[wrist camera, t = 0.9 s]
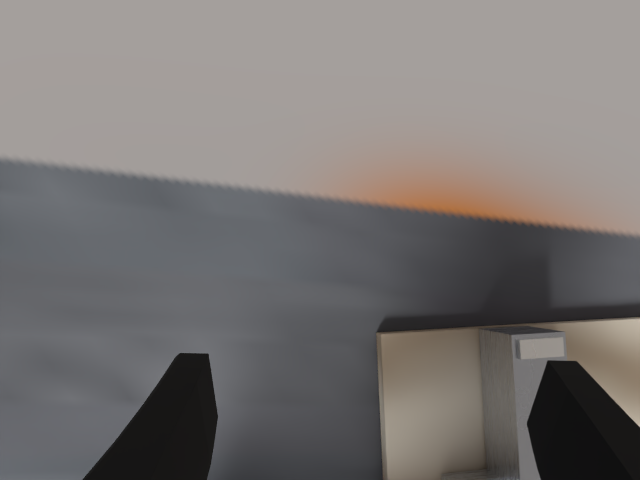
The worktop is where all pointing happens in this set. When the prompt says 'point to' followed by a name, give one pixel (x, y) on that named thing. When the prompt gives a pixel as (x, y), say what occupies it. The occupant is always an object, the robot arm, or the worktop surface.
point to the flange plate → (511, 397)
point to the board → (477, 390)
